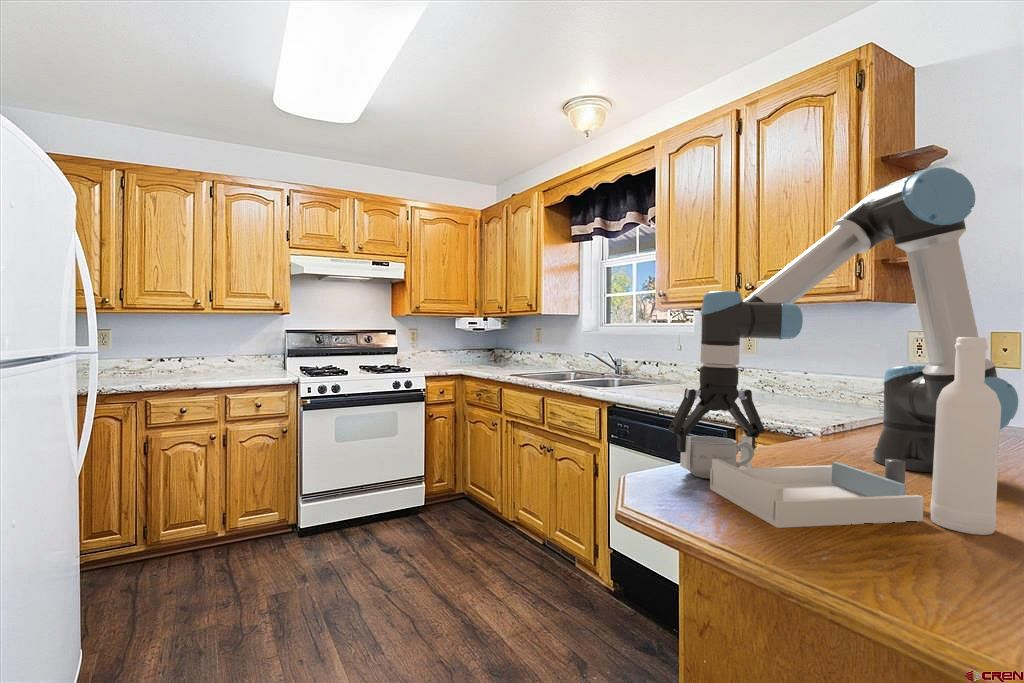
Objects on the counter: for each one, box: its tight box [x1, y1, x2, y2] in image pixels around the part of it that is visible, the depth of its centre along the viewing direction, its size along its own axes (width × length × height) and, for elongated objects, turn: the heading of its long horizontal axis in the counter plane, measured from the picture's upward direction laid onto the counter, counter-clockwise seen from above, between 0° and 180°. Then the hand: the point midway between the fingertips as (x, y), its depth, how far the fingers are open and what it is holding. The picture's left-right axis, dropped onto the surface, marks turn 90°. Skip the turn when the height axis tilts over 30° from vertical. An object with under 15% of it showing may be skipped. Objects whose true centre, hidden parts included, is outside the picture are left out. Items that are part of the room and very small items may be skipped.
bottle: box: [930, 337, 1001, 536], centre depth 84 cm, size 8×8×30 cm
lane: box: [709, 459, 925, 529], centre depth 95 cm, size 33×20×6 cm, turn 99°
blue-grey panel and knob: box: [831, 459, 907, 497], centre depth 96 cm, size 8×15×6 cm, turn 9°
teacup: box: [687, 435, 755, 480], centre depth 111 cm, size 14×11×8 cm
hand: (715, 467), depth 111 cm, fingers open, 13 cm apart
